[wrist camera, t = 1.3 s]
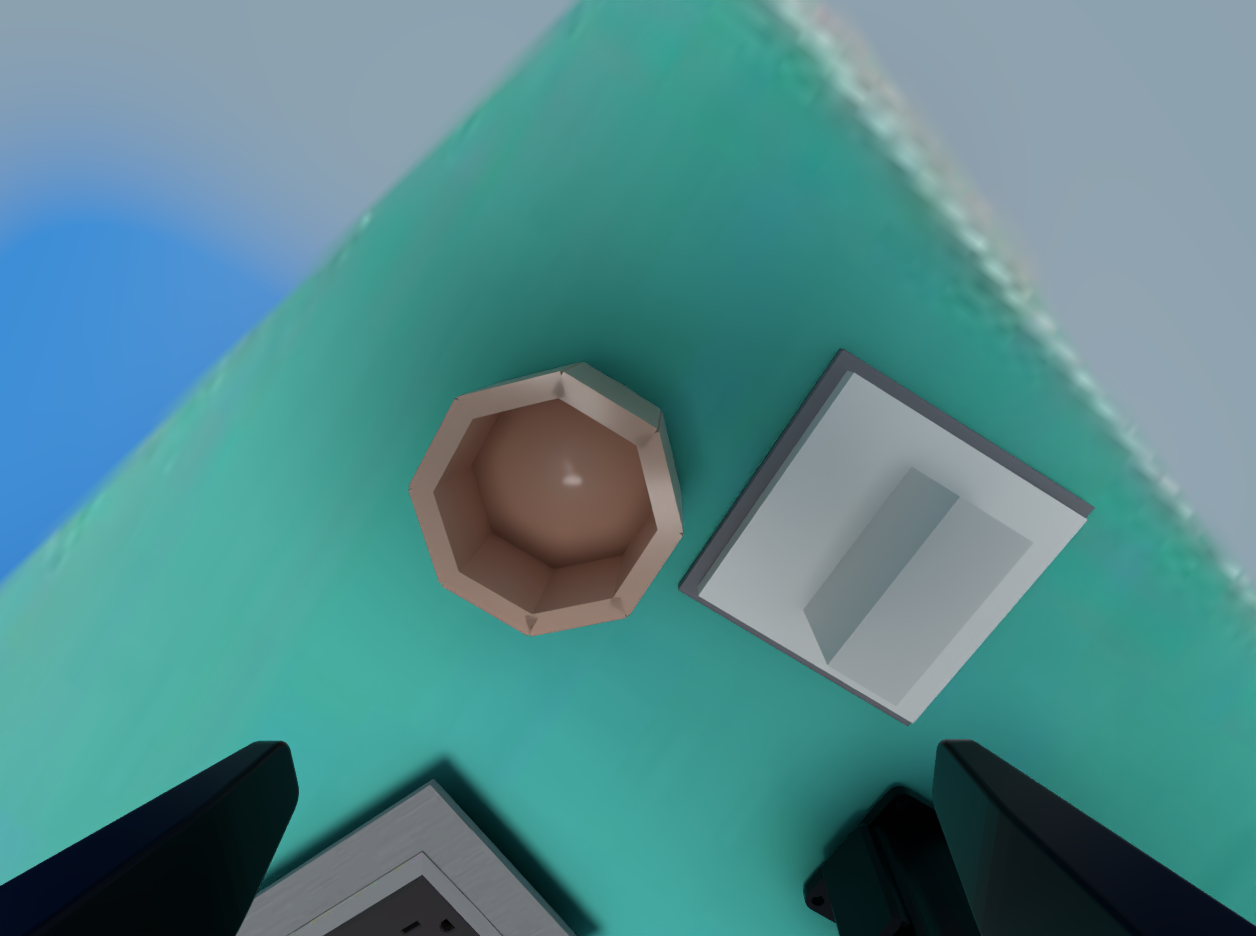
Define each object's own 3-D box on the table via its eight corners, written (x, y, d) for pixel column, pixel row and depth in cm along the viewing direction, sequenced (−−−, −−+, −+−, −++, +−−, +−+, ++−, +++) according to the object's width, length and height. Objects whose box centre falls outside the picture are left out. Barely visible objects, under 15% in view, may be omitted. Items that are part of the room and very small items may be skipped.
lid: (1072, 512, 21) (1172, 560, 16) (905, 709, 23) (956, 797, 19) (847, 370, 20) (892, 383, 16) (697, 586, 22) (702, 647, 18)
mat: (1087, 504, 21) (1095, 507, 21) (904, 719, 23) (907, 726, 23) (840, 348, 20) (843, 349, 20) (678, 585, 23) (678, 590, 22)
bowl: (716, 440, 22) (726, 470, 17) (607, 606, 23) (591, 672, 19) (529, 326, 21) (492, 327, 17) (432, 504, 23) (375, 547, 19)
